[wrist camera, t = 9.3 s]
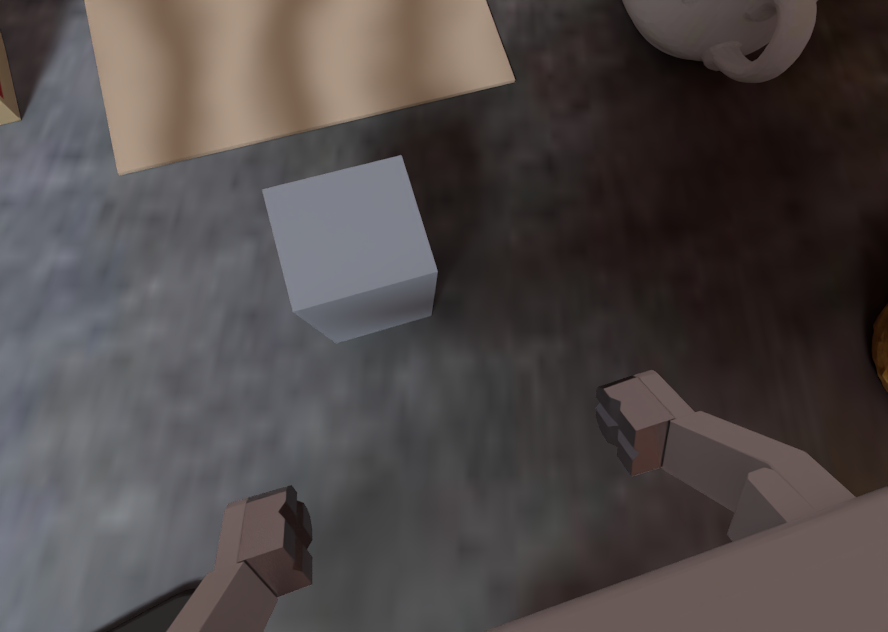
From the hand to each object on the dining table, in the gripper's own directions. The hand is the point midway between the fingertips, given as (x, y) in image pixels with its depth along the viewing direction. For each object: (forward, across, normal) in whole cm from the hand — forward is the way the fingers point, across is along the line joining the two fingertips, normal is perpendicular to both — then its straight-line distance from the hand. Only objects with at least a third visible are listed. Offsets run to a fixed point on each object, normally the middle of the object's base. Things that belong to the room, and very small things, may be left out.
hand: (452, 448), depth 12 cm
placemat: (+26, -1, +10) cm, 28 cm away
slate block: (+13, -1, -2) cm, 13 cm away
